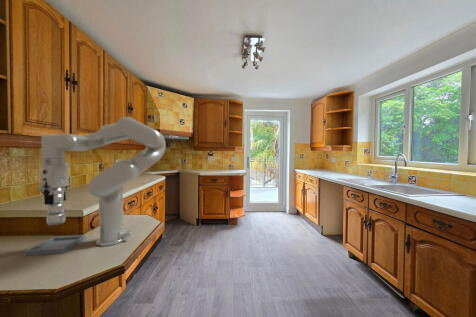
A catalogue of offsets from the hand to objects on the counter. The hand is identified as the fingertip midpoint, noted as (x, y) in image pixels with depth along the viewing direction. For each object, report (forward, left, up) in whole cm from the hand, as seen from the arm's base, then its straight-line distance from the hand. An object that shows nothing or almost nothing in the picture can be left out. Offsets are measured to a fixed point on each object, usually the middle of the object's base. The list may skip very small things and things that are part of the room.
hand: (55, 202), depth 91 cm
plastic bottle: (0, 0, -10) cm, 10 cm away
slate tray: (0, 0, -20) cm, 20 cm away
